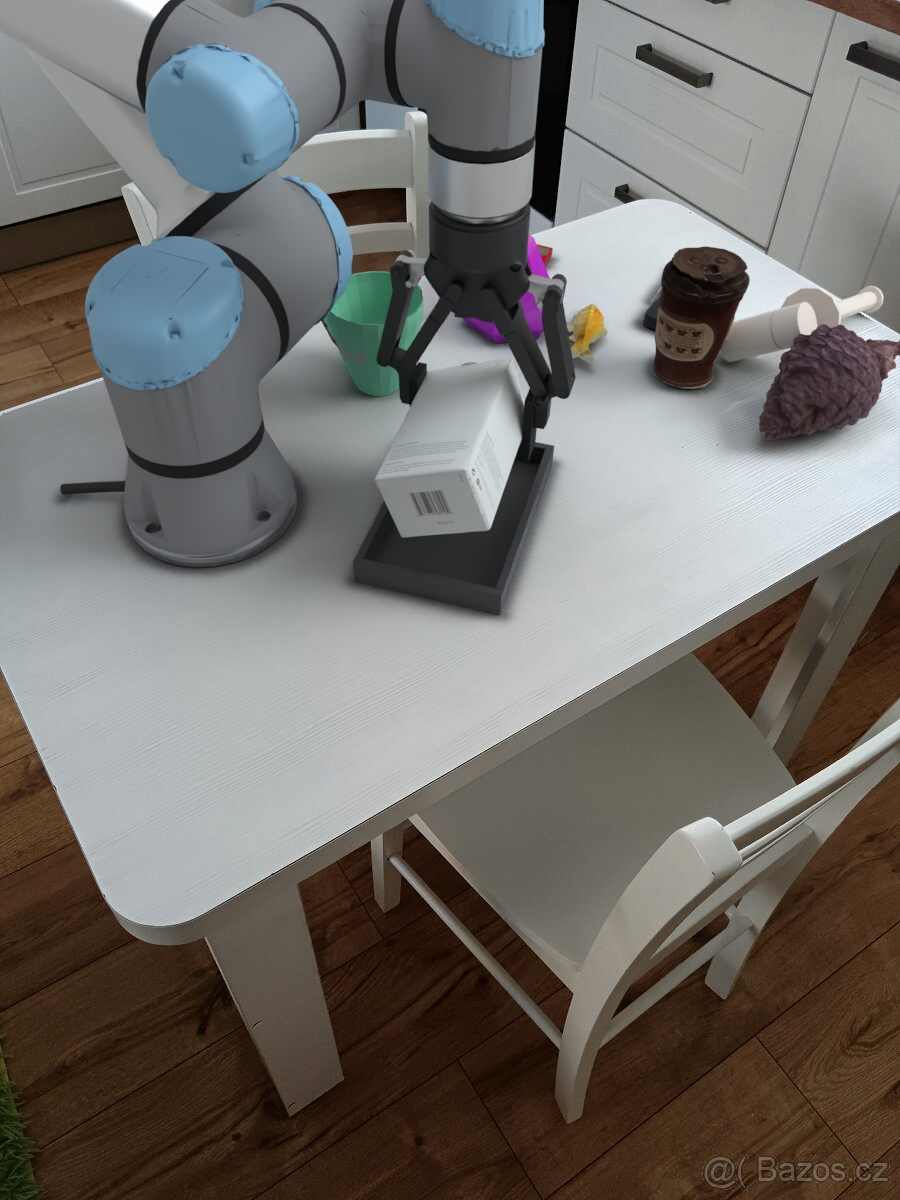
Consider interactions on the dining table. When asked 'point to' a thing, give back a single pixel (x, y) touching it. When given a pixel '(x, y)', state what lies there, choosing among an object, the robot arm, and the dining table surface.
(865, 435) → the dining table surface
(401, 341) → the mug
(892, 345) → the pine cone
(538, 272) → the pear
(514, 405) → the cosmetic box
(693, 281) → the coffee cup
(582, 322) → the fish
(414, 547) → the dark grey tray
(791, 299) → the toilet paper hanger
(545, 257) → the lighter
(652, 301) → the screw
